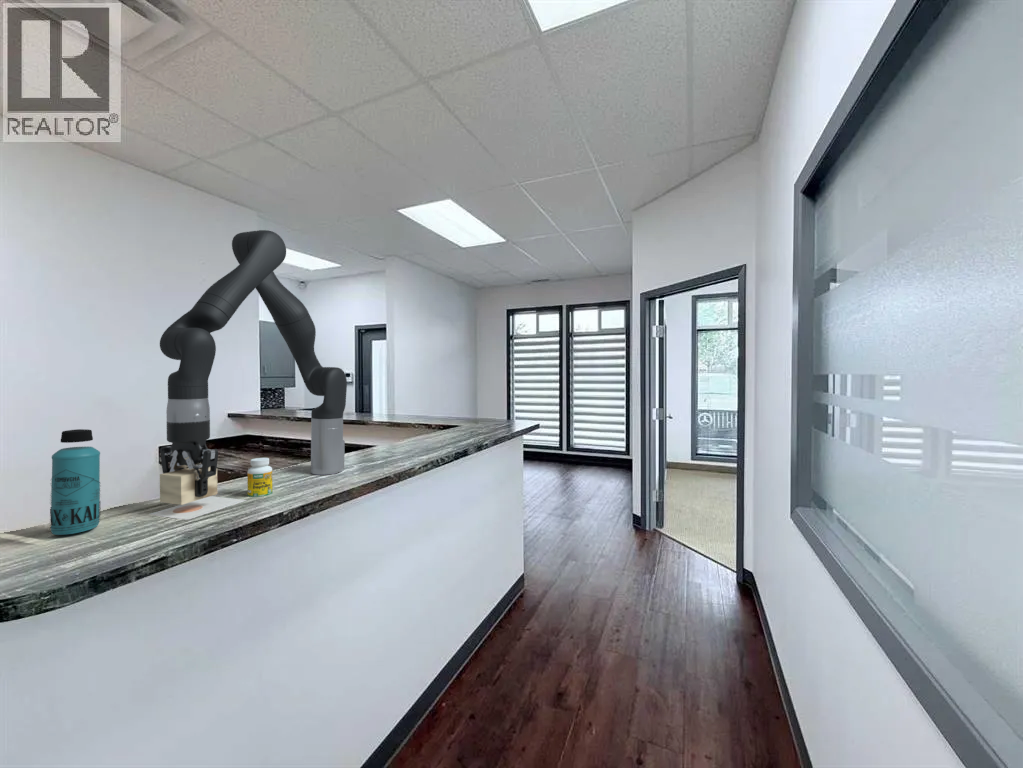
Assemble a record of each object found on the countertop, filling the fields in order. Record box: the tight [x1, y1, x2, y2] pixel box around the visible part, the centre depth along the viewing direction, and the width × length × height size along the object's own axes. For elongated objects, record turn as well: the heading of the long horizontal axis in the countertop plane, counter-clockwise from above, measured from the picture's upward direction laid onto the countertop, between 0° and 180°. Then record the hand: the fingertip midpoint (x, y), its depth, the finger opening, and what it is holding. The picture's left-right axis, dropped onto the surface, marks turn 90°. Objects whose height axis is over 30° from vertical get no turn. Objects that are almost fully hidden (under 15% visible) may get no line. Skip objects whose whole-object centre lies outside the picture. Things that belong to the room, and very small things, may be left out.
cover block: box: [159, 466, 218, 506], centre depth 91 cm, size 8×6×6 cm
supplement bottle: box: [246, 457, 273, 498], centre depth 103 cm, size 5×5×10 cm
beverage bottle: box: [49, 428, 102, 536], centre depth 77 cm, size 6×7×20 cm
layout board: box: [148, 495, 248, 521], centre depth 92 cm, size 14×11×1 cm
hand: (189, 494), depth 91 cm, fingers closed on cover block, 6 cm apart
